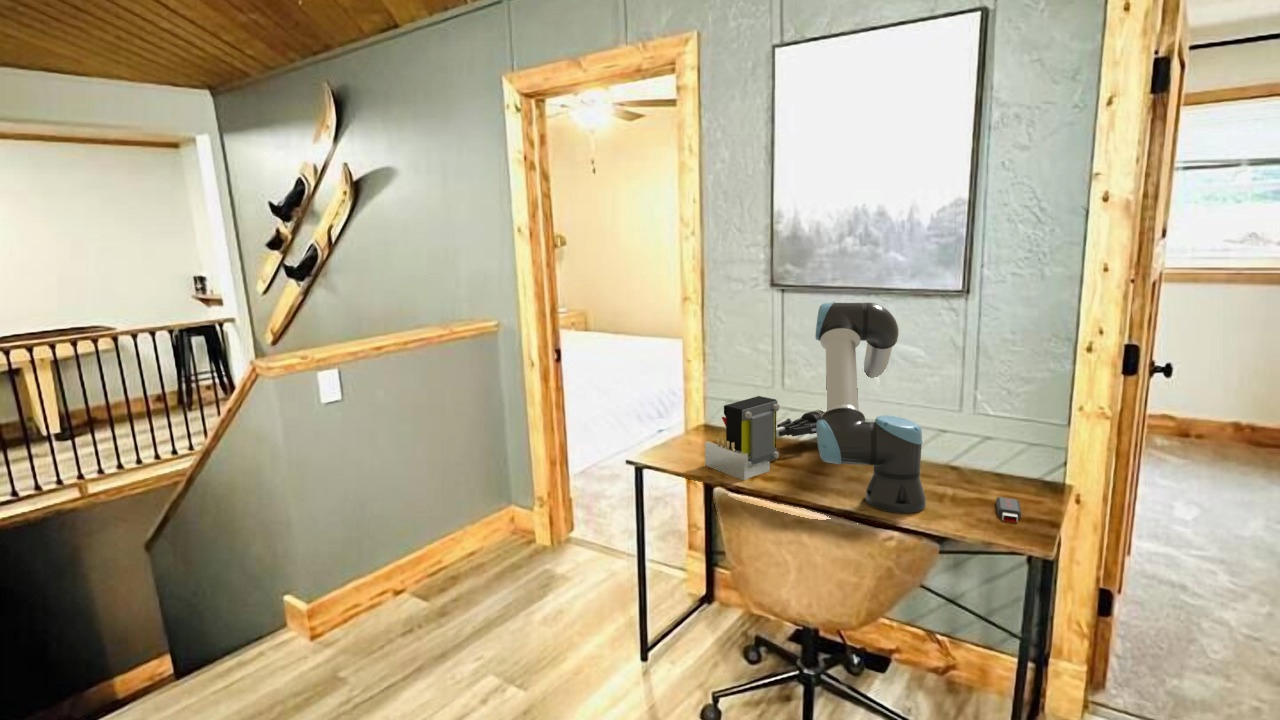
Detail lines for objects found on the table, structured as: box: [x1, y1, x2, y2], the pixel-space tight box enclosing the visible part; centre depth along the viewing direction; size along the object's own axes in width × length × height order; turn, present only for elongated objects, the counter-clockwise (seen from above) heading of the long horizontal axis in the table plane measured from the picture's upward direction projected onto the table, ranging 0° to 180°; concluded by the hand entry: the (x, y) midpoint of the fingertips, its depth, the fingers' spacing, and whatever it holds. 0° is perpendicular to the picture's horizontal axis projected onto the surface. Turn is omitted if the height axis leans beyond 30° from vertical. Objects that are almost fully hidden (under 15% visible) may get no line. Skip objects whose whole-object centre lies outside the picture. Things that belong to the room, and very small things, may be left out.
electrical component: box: [721, 395, 781, 466], centre depth 210 cm, size 18×10×20 cm, turn 131°
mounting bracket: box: [704, 437, 771, 481], centre depth 205 cm, size 17×12×10 cm
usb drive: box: [995, 496, 1022, 523], centre depth 169 cm, size 5×12×3 cm, turn 154°
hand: (770, 434), depth 215 cm, fingers closed
